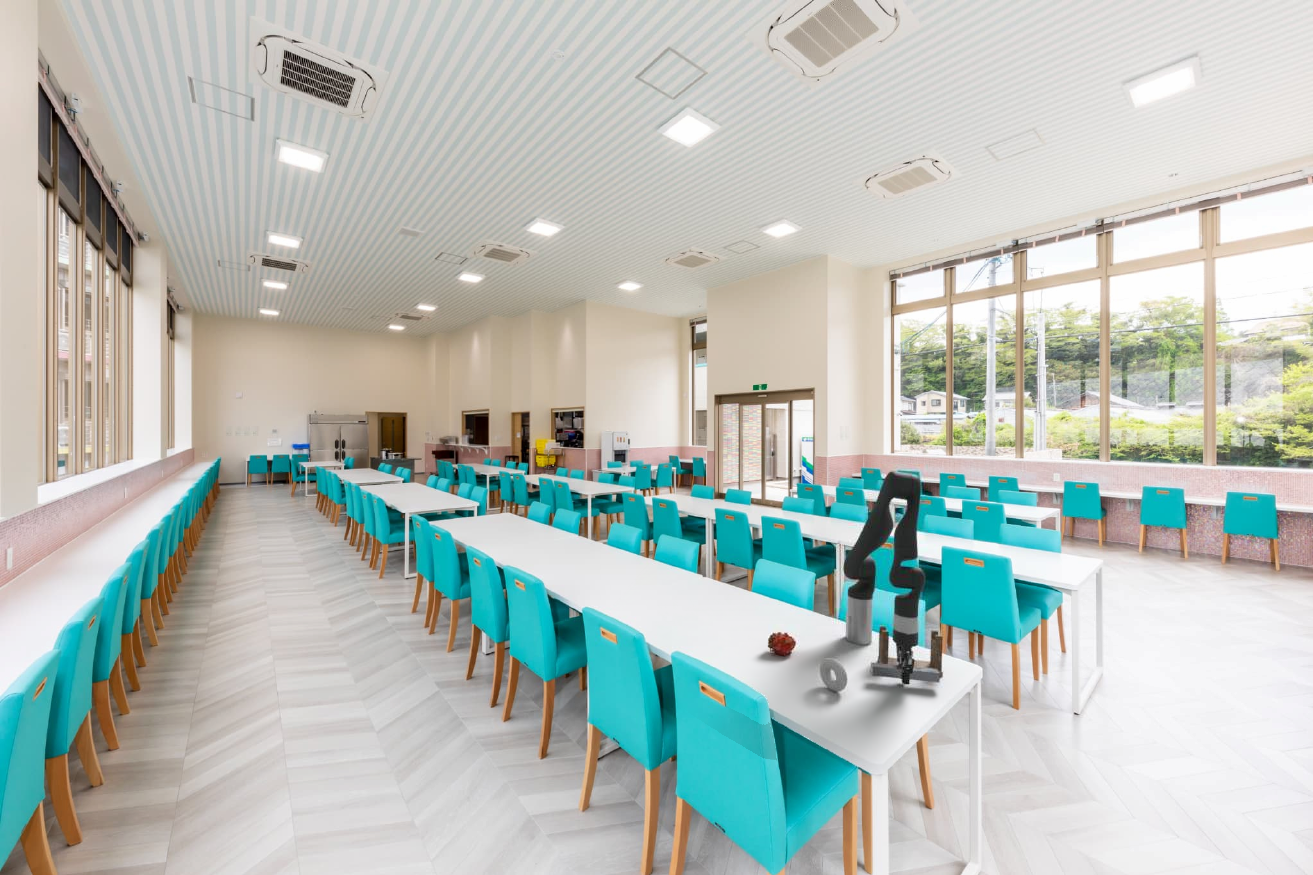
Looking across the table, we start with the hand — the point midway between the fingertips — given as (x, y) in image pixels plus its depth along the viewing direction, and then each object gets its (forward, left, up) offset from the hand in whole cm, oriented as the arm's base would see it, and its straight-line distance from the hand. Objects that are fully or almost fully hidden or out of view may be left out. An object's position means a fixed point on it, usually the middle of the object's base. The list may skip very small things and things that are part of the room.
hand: (904, 681), depth 173 cm
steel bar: (0, 0, +1) cm, 1 cm away
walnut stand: (+5, +14, -1) cm, 15 cm away
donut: (-23, -9, -2) cm, 25 cm away
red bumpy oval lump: (-38, +16, -2) cm, 41 cm away
